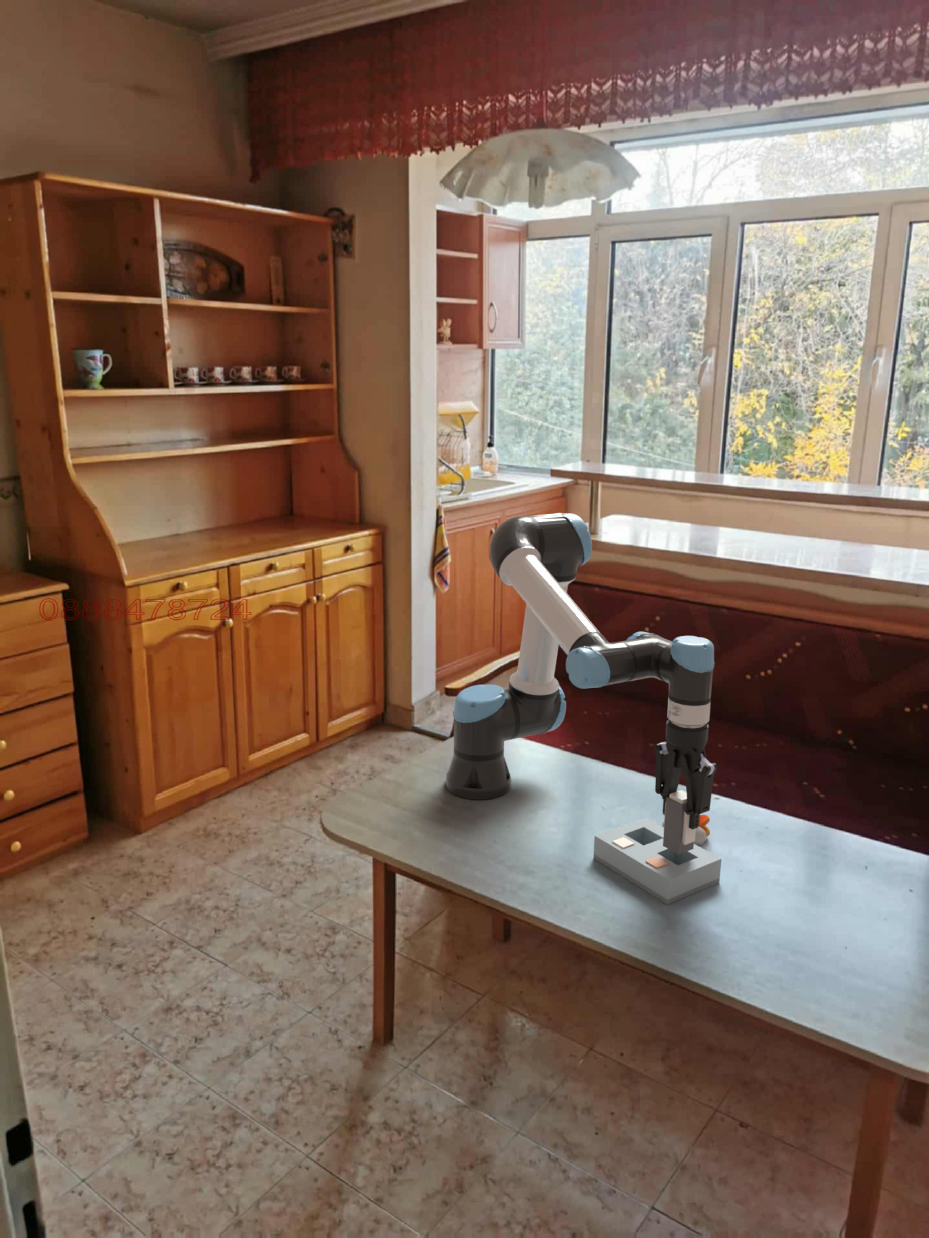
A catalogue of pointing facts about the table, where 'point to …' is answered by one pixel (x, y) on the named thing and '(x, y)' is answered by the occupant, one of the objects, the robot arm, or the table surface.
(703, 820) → the rainbow petal fan toy
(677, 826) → the plug
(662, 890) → the socket box
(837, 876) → the table surface
